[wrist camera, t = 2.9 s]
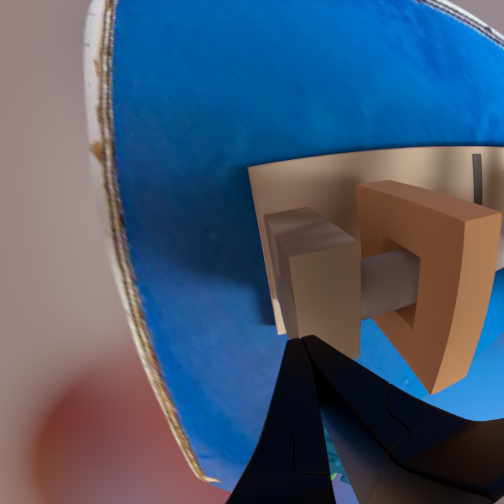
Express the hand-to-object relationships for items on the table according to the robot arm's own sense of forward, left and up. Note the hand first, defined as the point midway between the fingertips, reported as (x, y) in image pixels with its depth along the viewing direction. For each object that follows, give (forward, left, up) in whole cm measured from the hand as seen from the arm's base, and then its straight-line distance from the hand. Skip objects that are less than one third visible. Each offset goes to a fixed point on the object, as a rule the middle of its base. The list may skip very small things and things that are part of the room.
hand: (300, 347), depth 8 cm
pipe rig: (-12, 0, -8) cm, 15 cm away
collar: (-6, 0, -6) cm, 9 cm away
